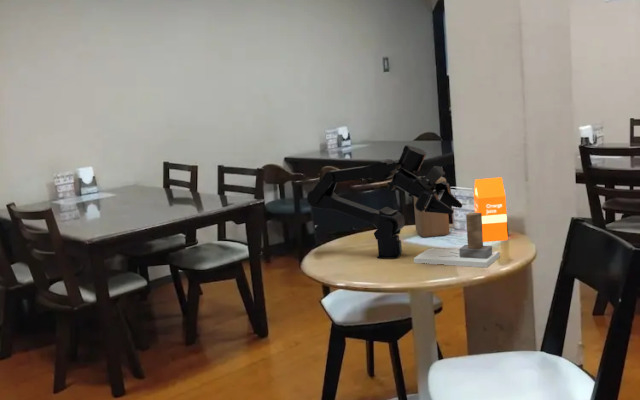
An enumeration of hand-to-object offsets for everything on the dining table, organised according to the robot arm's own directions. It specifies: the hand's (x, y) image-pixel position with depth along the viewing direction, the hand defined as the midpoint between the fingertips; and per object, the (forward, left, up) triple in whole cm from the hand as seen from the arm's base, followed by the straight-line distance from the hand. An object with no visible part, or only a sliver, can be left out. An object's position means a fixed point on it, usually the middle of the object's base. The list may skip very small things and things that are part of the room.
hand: (457, 209), depth 196 cm
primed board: (-1, -1, -15) cm, 15 cm away
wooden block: (-15, +33, -15) cm, 39 cm away
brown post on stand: (+5, -3, -13) cm, 14 cm away
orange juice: (+6, +25, -15) cm, 30 cm away
